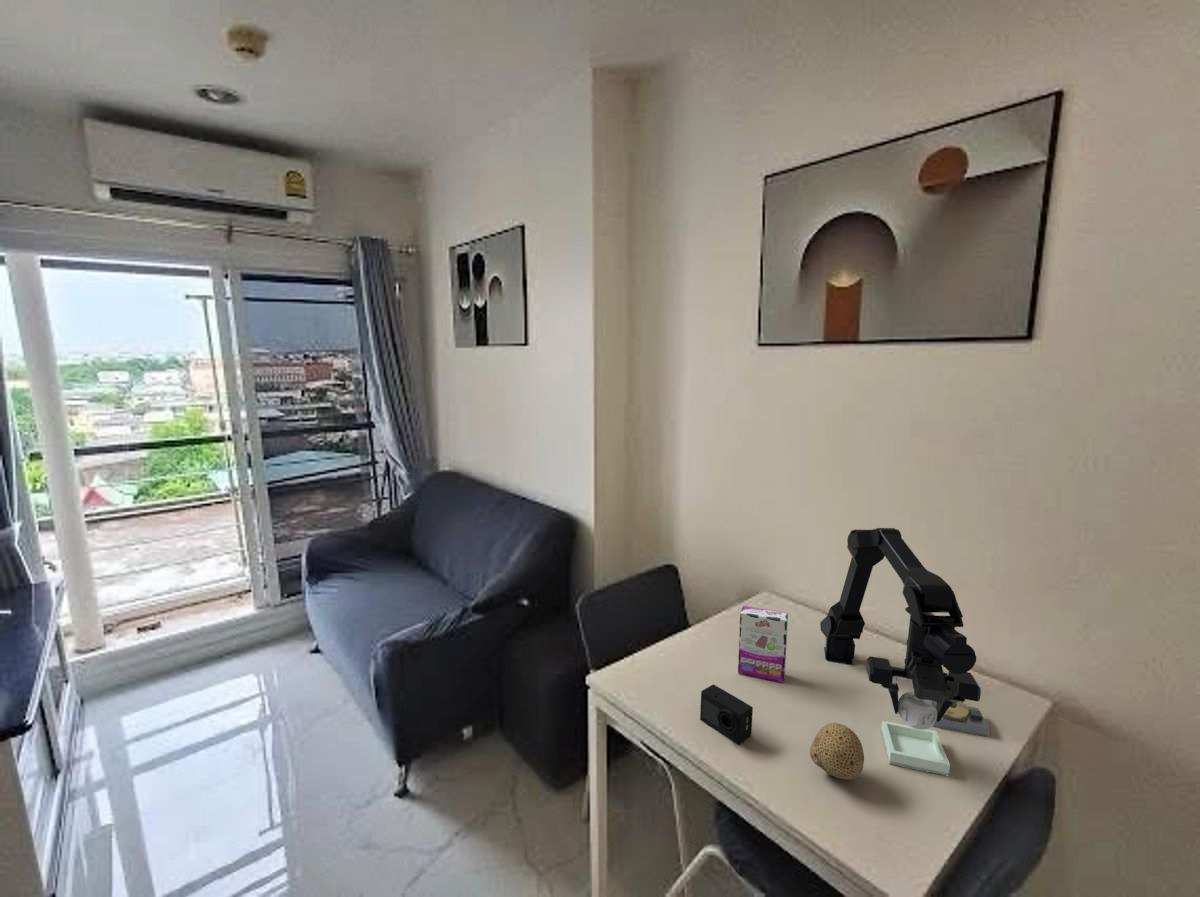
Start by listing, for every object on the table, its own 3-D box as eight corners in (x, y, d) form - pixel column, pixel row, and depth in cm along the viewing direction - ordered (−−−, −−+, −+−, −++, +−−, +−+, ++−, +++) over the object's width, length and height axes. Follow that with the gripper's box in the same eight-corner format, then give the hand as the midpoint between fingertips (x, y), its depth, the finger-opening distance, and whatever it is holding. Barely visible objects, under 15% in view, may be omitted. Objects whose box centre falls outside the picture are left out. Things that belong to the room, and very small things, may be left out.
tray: (889, 763, 105) (890, 752, 105) (881, 731, 114) (882, 720, 114) (948, 776, 102) (950, 764, 101) (934, 742, 111) (936, 731, 111)
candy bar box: (785, 673, 136) (789, 611, 133) (783, 684, 131) (788, 620, 128) (739, 663, 140) (742, 604, 137) (736, 673, 135) (740, 612, 133)
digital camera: (695, 722, 117) (696, 692, 116) (711, 712, 120) (713, 683, 119) (735, 748, 109) (736, 717, 108) (751, 737, 112) (752, 706, 111)
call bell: (933, 726, 116) (935, 707, 115) (925, 706, 123) (927, 689, 122) (988, 736, 113) (990, 717, 112) (977, 716, 119) (979, 698, 119)
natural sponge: (874, 791, 98) (879, 742, 97) (830, 799, 96) (835, 749, 95) (842, 756, 107) (846, 710, 105) (801, 763, 105) (805, 716, 104)
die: (895, 716, 109) (897, 693, 108) (914, 711, 110) (916, 689, 109) (917, 732, 104) (919, 709, 103) (936, 726, 106) (939, 703, 105)
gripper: (877, 656, 100) (870, 732, 102) (996, 676, 94) (985, 755, 97) (869, 628, 110) (862, 698, 113) (975, 644, 104) (965, 717, 107)
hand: (916, 716), depth 107 cm, fingers closed on die, 7 cm apart
